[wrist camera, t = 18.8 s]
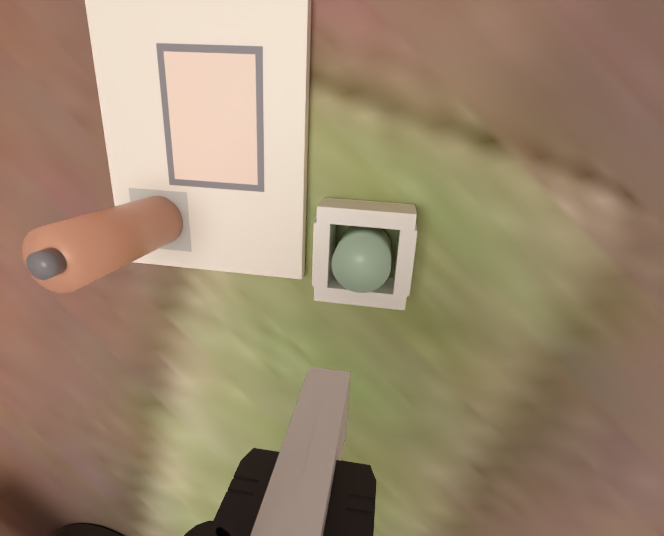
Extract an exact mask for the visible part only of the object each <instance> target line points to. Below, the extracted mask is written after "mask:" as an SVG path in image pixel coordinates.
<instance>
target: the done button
mask: <svg viewBox="0 0 664 536" xmlns="http://www.w3.org/2000/svg"><path fill="white" fill-rule="evenodd" d="M391 252H392V246H391V241H390V239H389V237H388V235H387V234H386V232H385V231H384V230H383V229H381V228H372V227H360V226H351V227H350V228H348V229H347V230H346V231H345V232H344V234H343V235H342V237H341V239H340V241H339V243H338V245H337V248H336V250H335V252H334V254H333V257H332V263H331V264H332V271H333V274H334V277H335V278H336V280H337V281H338V282H339V283H340V284H341V285H342V286H343V287H344V288H346V289H348V290H350V291H353V292H357V293H367V292H371V291H374V290H376V289H378V288H380V287H381V286H382V285H383V284H384V283H385V282H386V280H387V279H388V277H389V274H390V270H391Z"/></svg>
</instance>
